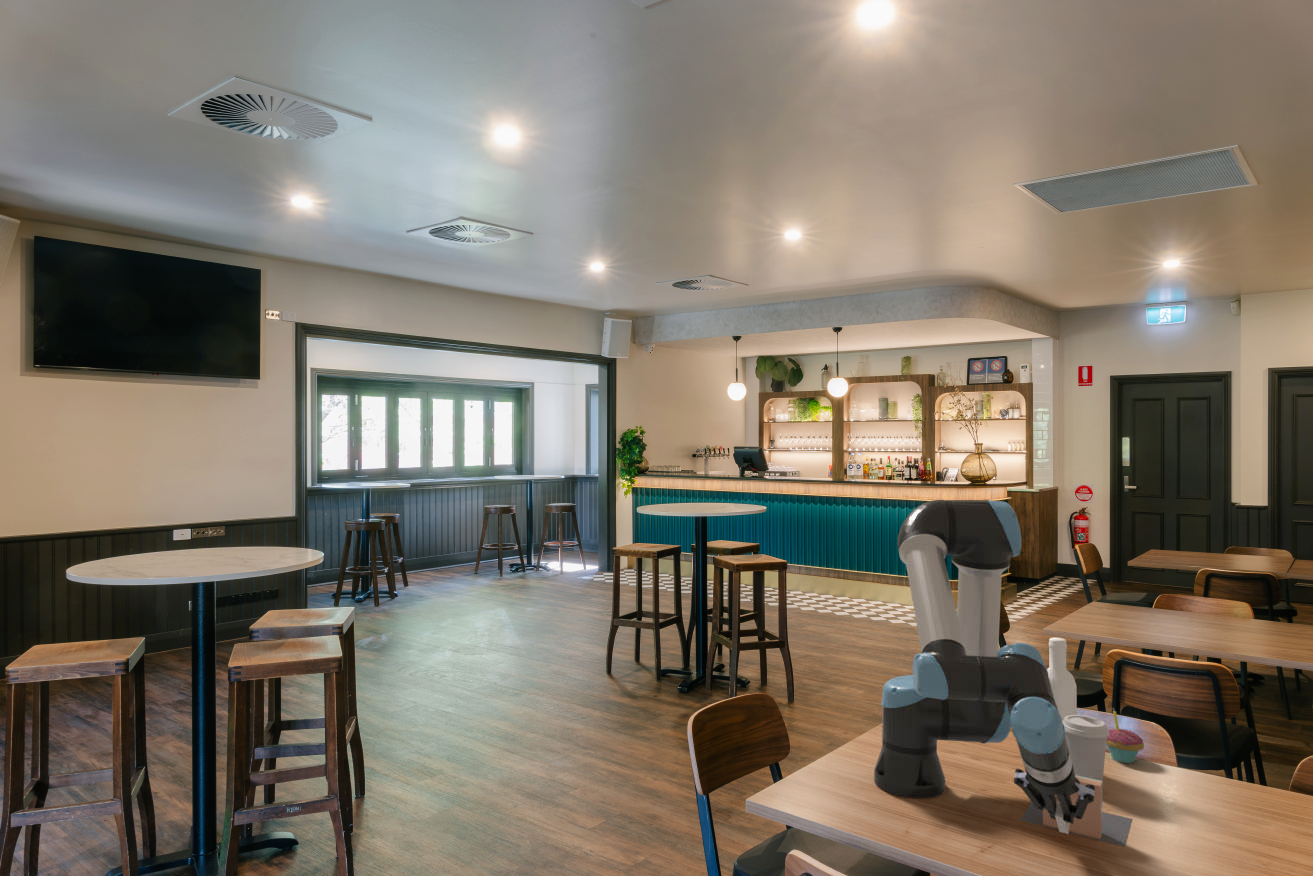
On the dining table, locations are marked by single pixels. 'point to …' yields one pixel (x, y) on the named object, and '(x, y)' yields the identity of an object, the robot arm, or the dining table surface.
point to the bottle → (1061, 678)
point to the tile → (1092, 815)
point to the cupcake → (1123, 743)
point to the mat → (1112, 833)
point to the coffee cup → (1086, 745)
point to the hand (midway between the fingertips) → (1064, 825)
